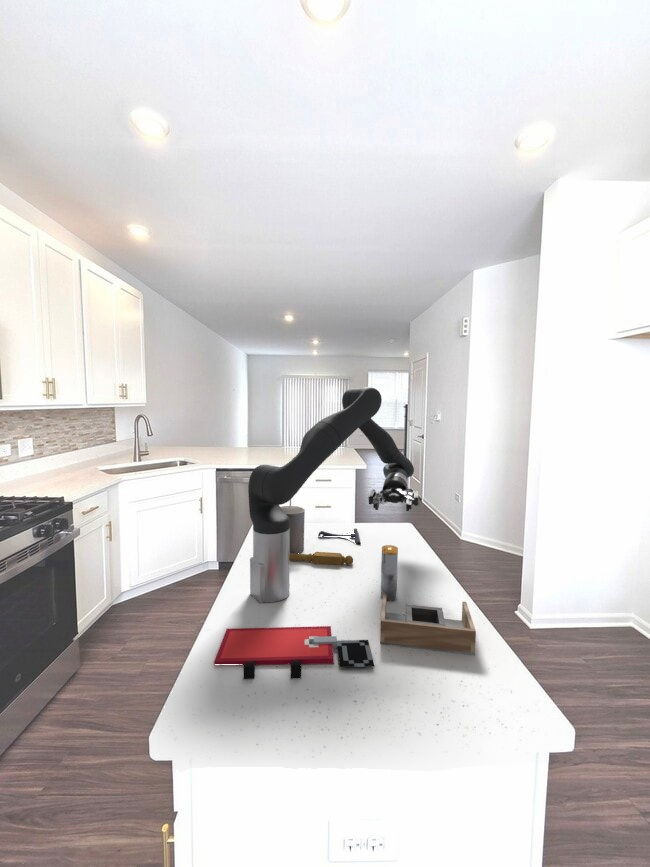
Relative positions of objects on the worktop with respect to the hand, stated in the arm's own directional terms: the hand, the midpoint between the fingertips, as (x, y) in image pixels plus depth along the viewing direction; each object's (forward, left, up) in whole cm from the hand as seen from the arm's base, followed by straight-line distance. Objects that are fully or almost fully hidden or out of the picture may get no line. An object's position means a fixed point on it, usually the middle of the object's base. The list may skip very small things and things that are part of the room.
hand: (391, 507), depth 111 cm
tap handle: (-14, +23, -21) cm, 34 cm away
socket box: (-11, -23, -20) cm, 33 cm away
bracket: (+8, +35, -21) cm, 42 cm away
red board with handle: (-39, -14, -21) cm, 46 cm away
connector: (-8, -8, -20) cm, 23 cm away
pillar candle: (-13, +34, -21) cm, 42 cm away
